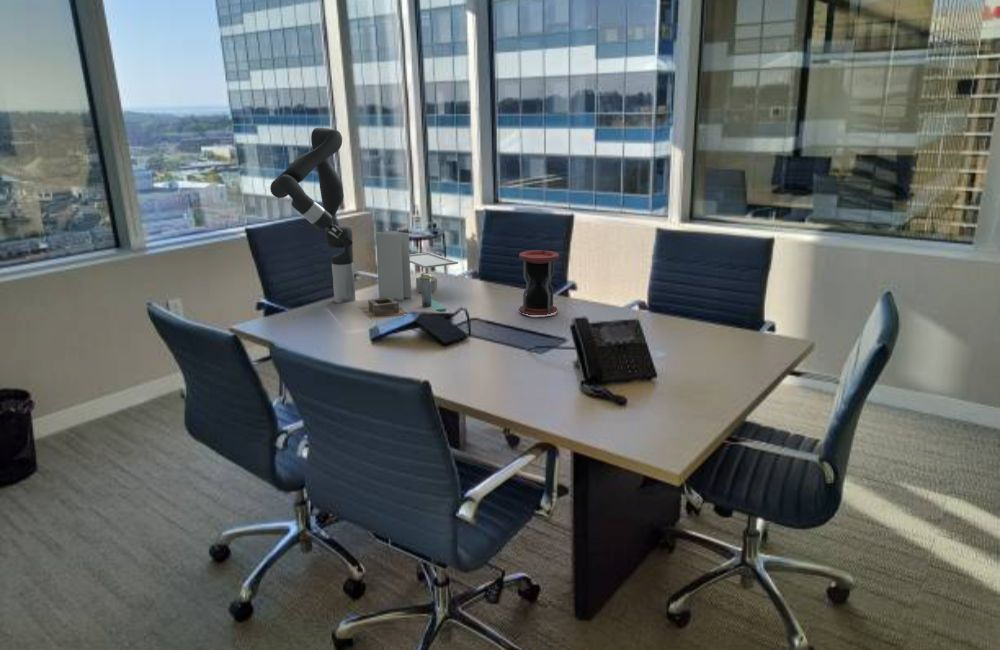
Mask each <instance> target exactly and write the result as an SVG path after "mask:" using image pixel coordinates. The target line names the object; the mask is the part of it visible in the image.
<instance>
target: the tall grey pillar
mask: <svg viewBox="0 0 1000 650" xmlns="http://www.w3.org/2000/svg"><path fill="white" fill-rule="evenodd" d="M375 244H376V247H375V249H376V262H377V263H376V265H377V281H378V285H377V286H378V299H379V298H380V299H382V298H391V297H392V298H393V299H394V300H399V301H404V300H405V299H406V298H407V299H412V282H411V281H412V280H411V263H410V254H411V253H410V234H409V233H408V232H401V231H400V232H399V231H390V230H383V231H380V232H379V231H378V232H377V231H376V232H375ZM404 298H405V299H404Z"/></svg>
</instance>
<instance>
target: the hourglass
mask: <svg viewBox="0 0 1000 650" xmlns="http://www.w3.org/2000/svg"><path fill="white" fill-rule="evenodd" d="M518 257H519V260H522V261H523V269H522V270H523V274H522V275H523V280H524V281H525V285H526V286H525V289H524V291H523V294H522V305H520V306H519V308H518V312H519V311H520V312H521V313H524V314H528V315H547V314H551V313H554V312H556V311H557V312H558V308H557V307H556V306H555V305H554V287H553V286H552V278H553V276H554V274H555V261H558V260H559V258H560V254H559V253H558V252H555V251H551V250H541V249H539V250H536V249H534V250H525V251H522V252H520V253H519V256H518ZM527 276H528V278H527ZM546 279H547V280H546ZM545 280H546V282H545V285H543V282H544V281H545ZM533 282H534V283H535V284H534V285H533ZM532 285H533V286H532ZM531 286H532V287H531Z"/></svg>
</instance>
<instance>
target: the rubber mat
mask: <svg viewBox="0 0 1000 650" xmlns="http://www.w3.org/2000/svg"><path fill="white" fill-rule="evenodd" d="M431 305H432V306H430V307H431V308H432V309H434V310H435V311H436V312H438V311H440V312H445V310H446V311H447V308H446V307H444V306H443V305H442V304H440V303H439V302H438V301H436V300H431Z"/></svg>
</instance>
